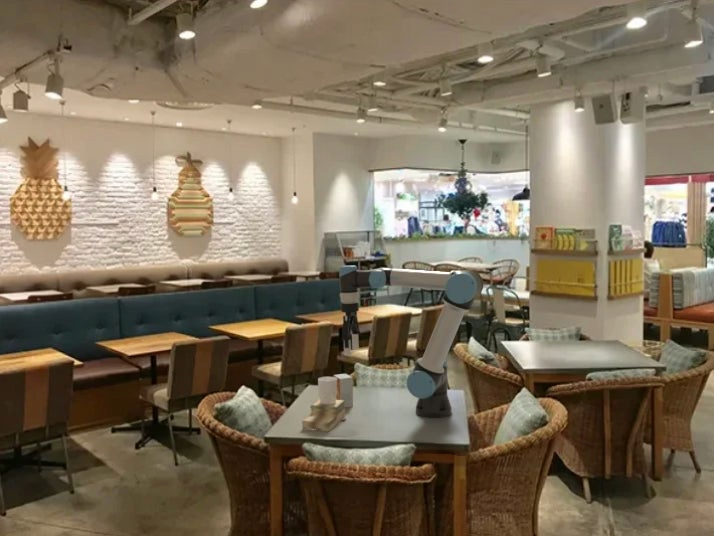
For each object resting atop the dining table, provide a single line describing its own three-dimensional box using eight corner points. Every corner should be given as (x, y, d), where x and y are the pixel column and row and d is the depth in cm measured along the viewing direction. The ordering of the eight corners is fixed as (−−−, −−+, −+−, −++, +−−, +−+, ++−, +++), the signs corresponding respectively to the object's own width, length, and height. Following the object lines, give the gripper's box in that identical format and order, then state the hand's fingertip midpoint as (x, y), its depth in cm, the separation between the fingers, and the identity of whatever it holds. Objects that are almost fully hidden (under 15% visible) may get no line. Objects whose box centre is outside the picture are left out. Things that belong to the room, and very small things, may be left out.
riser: (349, 416, 272) (348, 400, 271) (333, 432, 253) (333, 414, 252) (319, 414, 276) (319, 398, 275) (302, 429, 256) (301, 411, 256)
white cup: (335, 405, 264) (334, 381, 263) (316, 404, 265) (315, 380, 265) (339, 400, 271) (339, 376, 271) (321, 399, 273) (320, 376, 272)
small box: (333, 403, 293) (333, 374, 292) (346, 401, 295) (346, 373, 294) (340, 407, 285) (339, 378, 284) (353, 406, 288) (353, 377, 287)
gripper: (348, 299, 286) (350, 346, 288) (332, 306, 262) (335, 358, 263) (364, 298, 285) (367, 346, 286) (350, 305, 260) (353, 358, 262)
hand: (351, 352), depth 275 cm, fingers open, 13 cm apart
